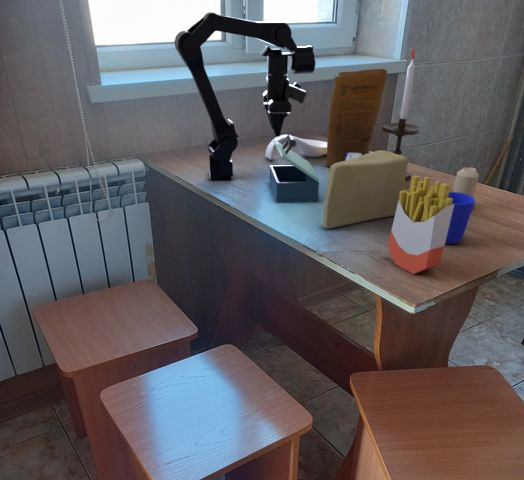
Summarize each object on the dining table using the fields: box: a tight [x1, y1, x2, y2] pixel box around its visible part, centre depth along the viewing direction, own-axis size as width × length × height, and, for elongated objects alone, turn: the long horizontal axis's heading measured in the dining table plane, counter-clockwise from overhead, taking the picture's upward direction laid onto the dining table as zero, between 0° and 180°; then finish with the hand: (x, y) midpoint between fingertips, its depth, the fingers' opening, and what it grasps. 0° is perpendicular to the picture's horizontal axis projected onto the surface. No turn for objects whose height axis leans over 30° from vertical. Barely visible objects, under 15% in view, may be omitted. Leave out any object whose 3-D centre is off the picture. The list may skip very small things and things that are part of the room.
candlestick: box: [382, 46, 421, 181], centre depth 150 cm, size 11×11×35 cm
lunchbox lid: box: [274, 134, 321, 183], centre depth 140 cm, size 12×16×5 cm
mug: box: [445, 191, 476, 245], centre depth 117 cm, size 8×12×10 cm
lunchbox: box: [268, 164, 320, 203], centre depth 145 cm, size 11×16×5 cm
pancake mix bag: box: [325, 68, 388, 168], centre depth 161 cm, size 7×19×28 cm, turn 109°
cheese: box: [322, 150, 409, 230], centre depth 125 cm, size 22×10×15 cm, turn 127°
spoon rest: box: [264, 134, 327, 161], centre depth 175 cm, size 24×12×7 cm, turn 114°
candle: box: [452, 166, 480, 198], centre depth 136 cm, size 6×6×10 cm
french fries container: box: [388, 175, 454, 275], centre depth 103 cm, size 5×11×18 cm, turn 31°
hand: (275, 132), depth 153 cm, fingers open, 9 cm apart
